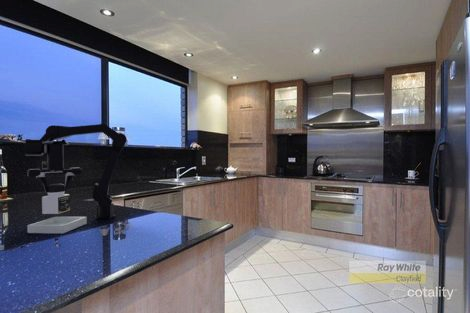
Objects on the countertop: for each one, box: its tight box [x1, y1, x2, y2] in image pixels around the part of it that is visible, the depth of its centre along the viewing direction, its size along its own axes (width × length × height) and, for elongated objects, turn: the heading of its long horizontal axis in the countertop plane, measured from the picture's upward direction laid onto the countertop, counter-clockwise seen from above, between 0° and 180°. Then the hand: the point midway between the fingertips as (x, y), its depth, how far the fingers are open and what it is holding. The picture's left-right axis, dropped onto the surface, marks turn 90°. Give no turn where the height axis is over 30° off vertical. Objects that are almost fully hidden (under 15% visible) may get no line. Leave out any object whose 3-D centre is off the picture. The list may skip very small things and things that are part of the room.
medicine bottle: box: [41, 183, 71, 215], centre depth 110 cm, size 7×7×12 cm
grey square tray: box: [27, 216, 88, 234], centre depth 101 cm, size 14×14×3 cm
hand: (56, 192), depth 110 cm, fingers closed on medicine bottle, 6 cm apart
